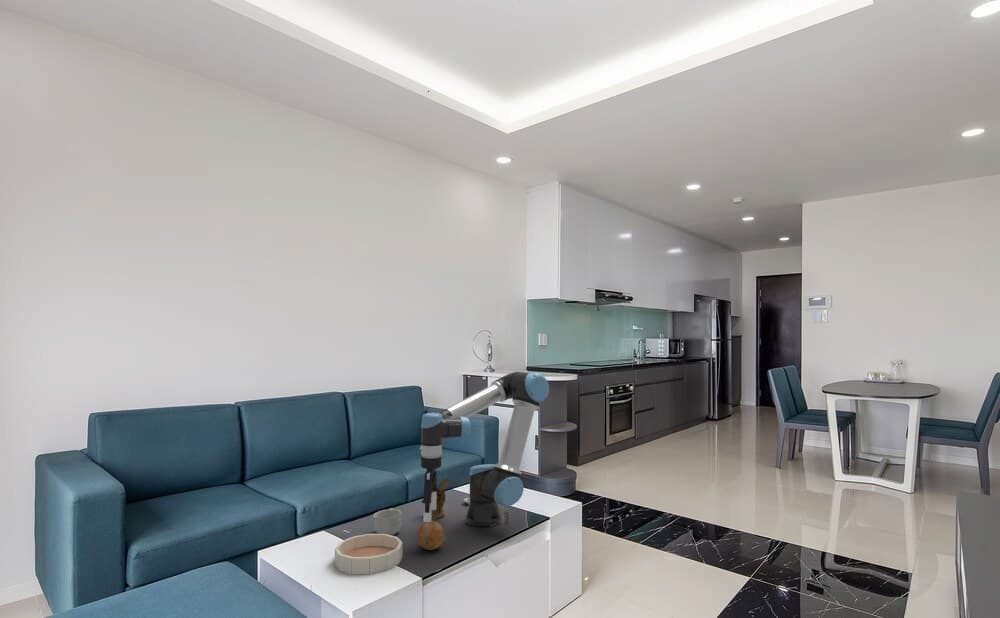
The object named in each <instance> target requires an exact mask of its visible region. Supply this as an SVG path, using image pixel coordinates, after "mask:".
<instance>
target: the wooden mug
mask: <svg viewBox="0 0 1000 618" xmlns="http://www.w3.org/2000/svg"><path fill="white" fill-rule="evenodd" d="M450 484H451V478H450V477H449V476H448V477H446V478H445V479H443V480H442V481H441V482H440V483H439V484H438V486H437V488H439V491H435V492H437V498H436V510H432V512H431V520H438V519H439V520H440V519H442V518H444V517H445V510H444V505H445V503H446V498H447V497H446V491H445V489H447V487H449V485H450Z"/></svg>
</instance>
